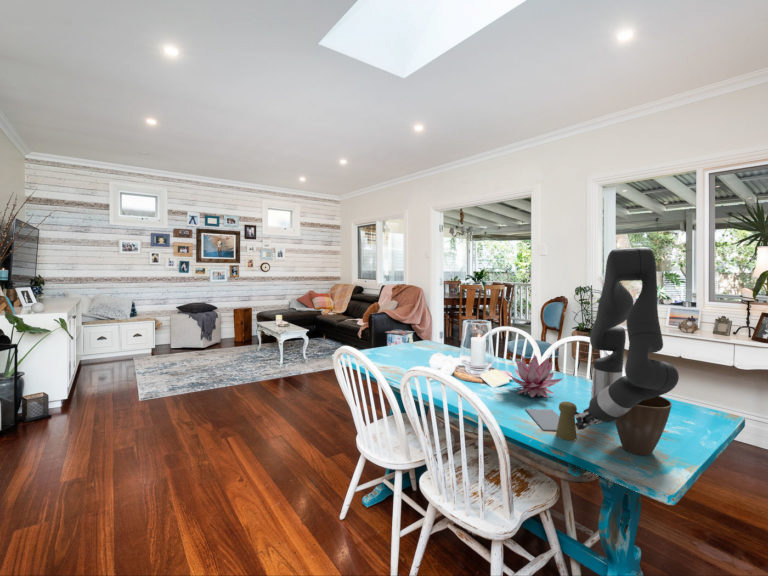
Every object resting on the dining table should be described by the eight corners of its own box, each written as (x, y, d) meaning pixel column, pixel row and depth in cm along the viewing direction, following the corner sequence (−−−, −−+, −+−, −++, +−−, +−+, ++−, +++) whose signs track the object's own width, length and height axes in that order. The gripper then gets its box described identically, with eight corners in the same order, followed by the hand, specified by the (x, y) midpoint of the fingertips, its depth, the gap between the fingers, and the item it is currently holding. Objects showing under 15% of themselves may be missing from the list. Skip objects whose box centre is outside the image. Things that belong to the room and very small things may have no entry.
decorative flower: (497, 394, 159) (498, 359, 158) (518, 382, 175) (519, 350, 174) (550, 407, 145) (551, 369, 144) (567, 393, 161) (568, 359, 160)
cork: (574, 433, 123) (576, 400, 123) (578, 441, 118) (580, 407, 117) (554, 430, 125) (556, 398, 124) (557, 439, 119) (559, 405, 118)
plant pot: (643, 437, 121) (646, 389, 120) (681, 462, 106) (685, 407, 105) (598, 437, 120) (600, 389, 119) (629, 462, 105) (633, 407, 104)
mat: (525, 409, 142) (525, 408, 142) (552, 410, 142) (552, 409, 142) (543, 430, 125) (543, 429, 125) (573, 431, 125) (573, 430, 125)
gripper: (625, 389, 106) (592, 413, 119) (583, 391, 104) (554, 416, 117) (640, 414, 101) (603, 437, 114) (596, 418, 99) (564, 440, 112)
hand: (578, 426), depth 116 cm, fingers closed
